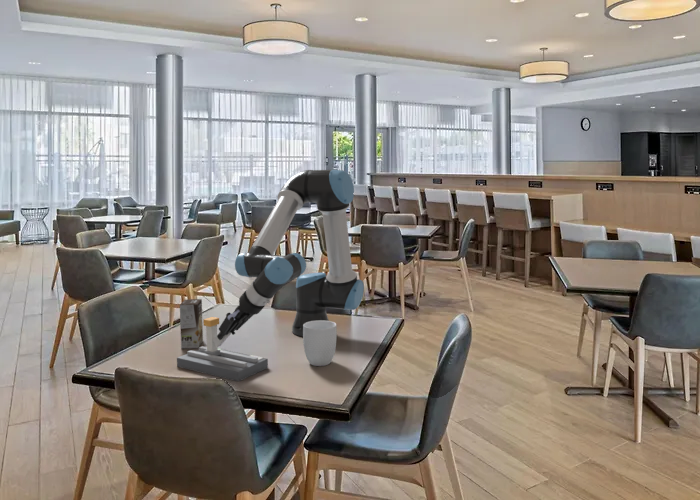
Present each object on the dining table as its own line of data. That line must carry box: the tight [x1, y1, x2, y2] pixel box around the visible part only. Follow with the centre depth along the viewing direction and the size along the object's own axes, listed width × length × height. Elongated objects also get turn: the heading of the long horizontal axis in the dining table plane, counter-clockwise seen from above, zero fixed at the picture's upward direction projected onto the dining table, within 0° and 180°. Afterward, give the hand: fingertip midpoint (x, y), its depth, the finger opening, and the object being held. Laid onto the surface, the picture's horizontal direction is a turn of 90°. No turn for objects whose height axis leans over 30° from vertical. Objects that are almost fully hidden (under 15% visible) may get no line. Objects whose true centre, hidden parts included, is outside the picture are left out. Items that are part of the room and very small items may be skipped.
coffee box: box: [179, 298, 204, 349], centre depth 205 cm, size 9×6×16 cm
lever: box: [202, 316, 220, 356], centre depth 183 cm, size 4×4×12 cm
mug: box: [302, 320, 337, 367], centre depth 187 cm, size 15×11×13 cm
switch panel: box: [176, 345, 269, 382], centre depth 182 cm, size 26×14×4 cm, turn 60°
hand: (216, 343), depth 182 cm, fingers closed
